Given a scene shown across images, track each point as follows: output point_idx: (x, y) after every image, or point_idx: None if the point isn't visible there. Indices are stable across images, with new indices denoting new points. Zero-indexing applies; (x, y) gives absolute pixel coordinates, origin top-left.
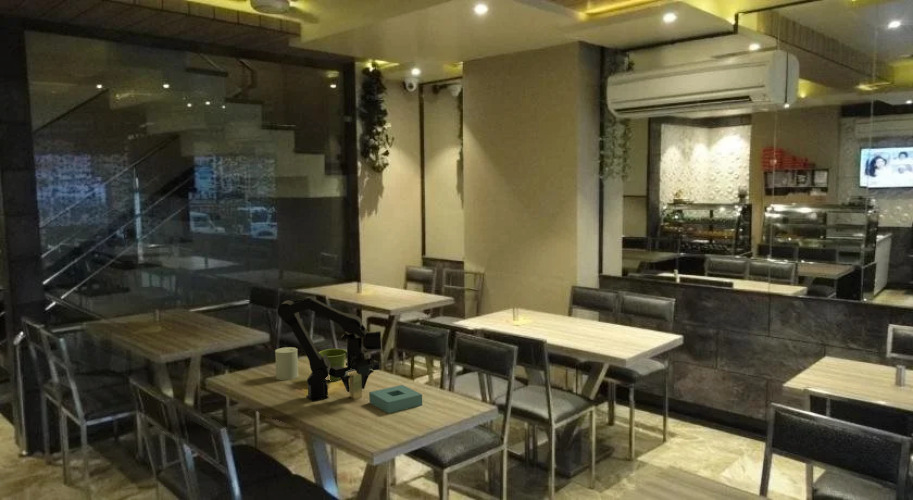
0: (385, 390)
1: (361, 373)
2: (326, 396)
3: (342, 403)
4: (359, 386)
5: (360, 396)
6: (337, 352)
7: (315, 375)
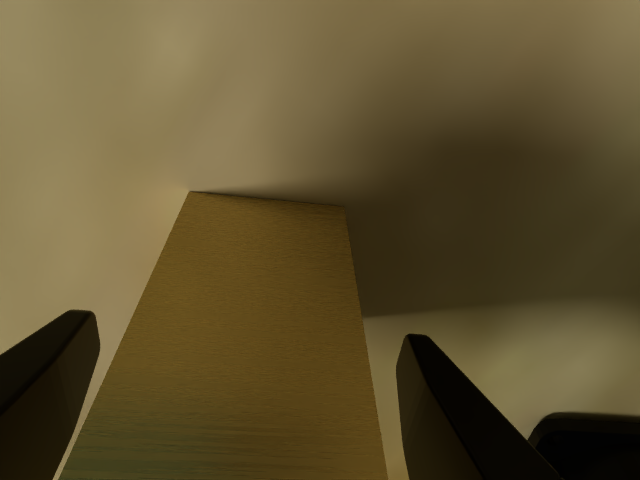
0: None
1: None
2: (554, 448)
3: (611, 158)
4: (192, 338)
5: (216, 202)
6: None
7: None
